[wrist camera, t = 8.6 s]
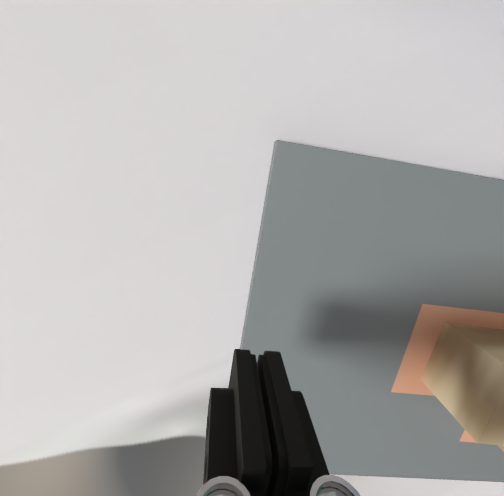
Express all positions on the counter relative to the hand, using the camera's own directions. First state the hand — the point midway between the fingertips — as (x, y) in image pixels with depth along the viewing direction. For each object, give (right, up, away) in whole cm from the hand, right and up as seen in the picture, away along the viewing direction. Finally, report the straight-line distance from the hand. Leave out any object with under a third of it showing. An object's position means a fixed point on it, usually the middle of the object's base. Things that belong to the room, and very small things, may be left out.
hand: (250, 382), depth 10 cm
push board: (+11, -1, +7) cm, 13 cm away
